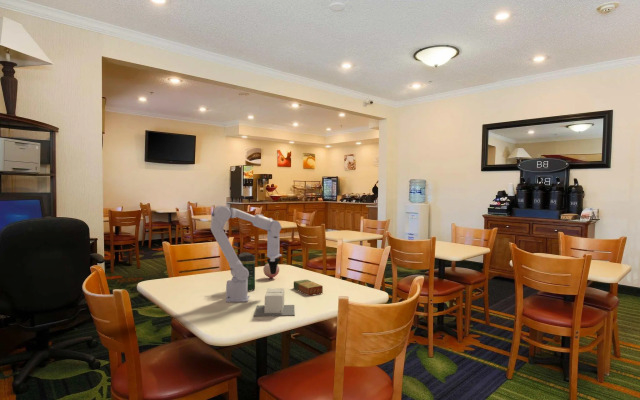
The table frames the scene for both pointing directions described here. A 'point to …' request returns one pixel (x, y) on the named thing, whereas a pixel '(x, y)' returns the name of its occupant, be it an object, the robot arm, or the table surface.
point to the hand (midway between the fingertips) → (273, 273)
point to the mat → (287, 311)
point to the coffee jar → (249, 268)
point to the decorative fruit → (267, 271)
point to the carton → (308, 287)
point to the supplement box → (274, 301)
